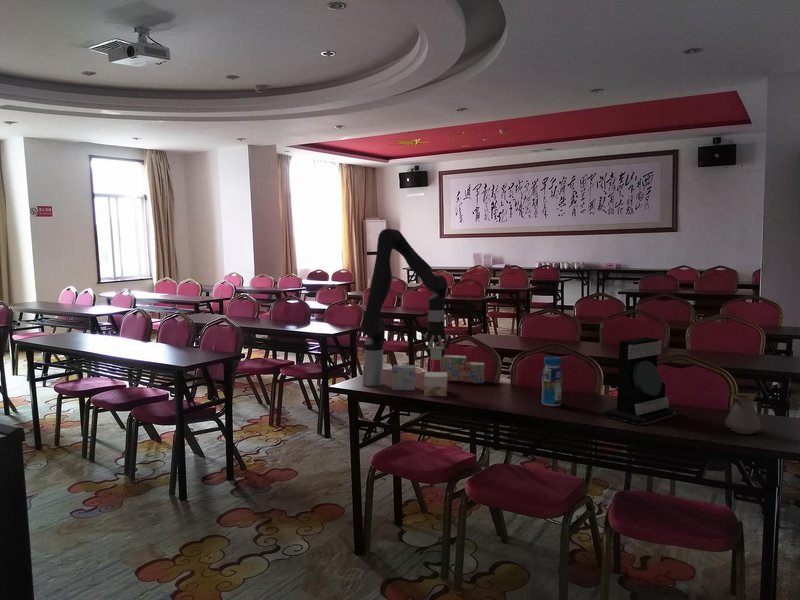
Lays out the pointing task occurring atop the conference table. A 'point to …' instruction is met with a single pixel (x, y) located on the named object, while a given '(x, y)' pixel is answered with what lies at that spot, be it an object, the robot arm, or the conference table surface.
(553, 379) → the beverage bottle
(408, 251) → the robot arm
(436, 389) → the oak block
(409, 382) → the light bulb box
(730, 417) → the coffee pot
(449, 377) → the stack of blocks
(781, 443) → the conference table surface
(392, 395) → the conference table surface
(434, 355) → the sage cube
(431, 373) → the cream block
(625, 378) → the award
